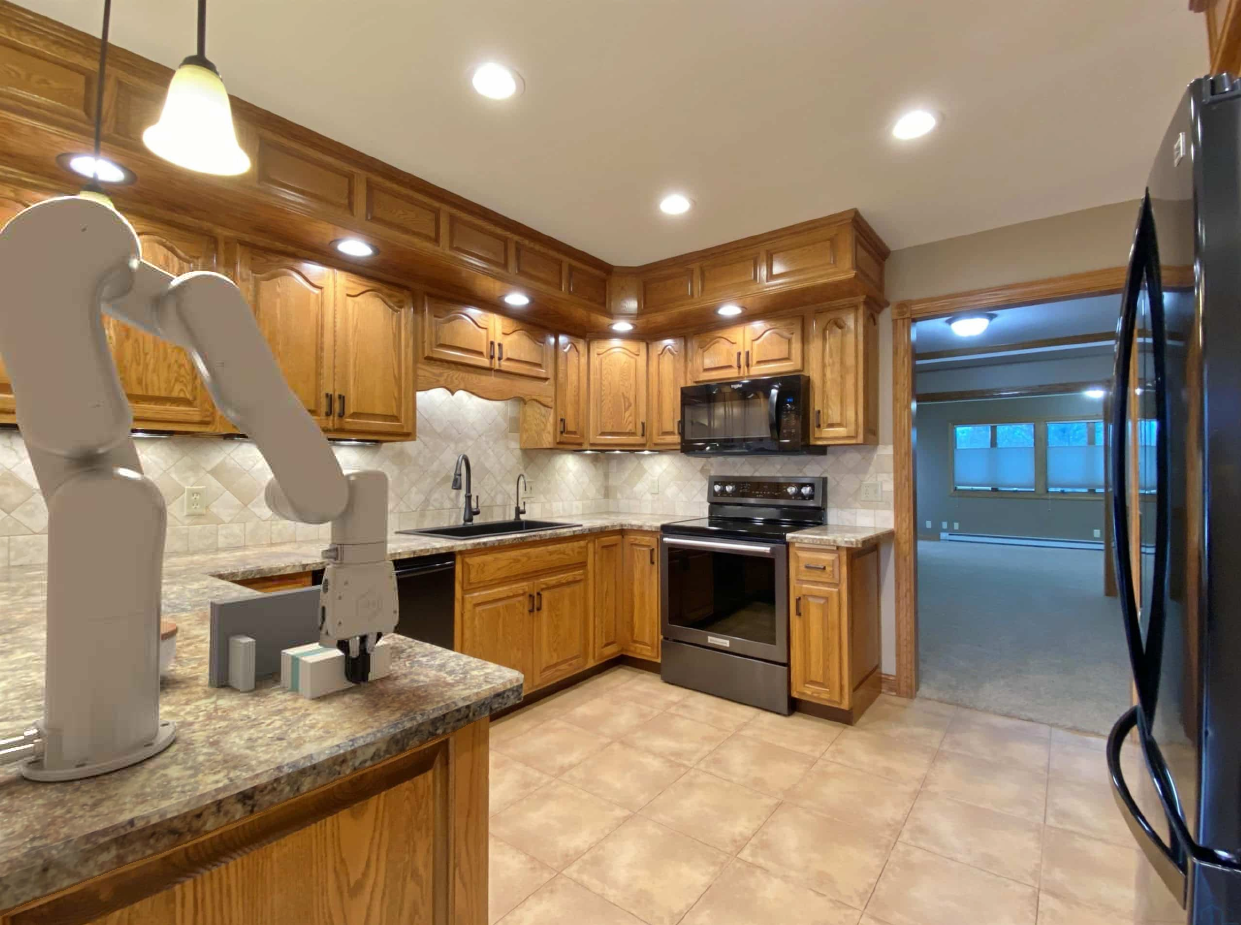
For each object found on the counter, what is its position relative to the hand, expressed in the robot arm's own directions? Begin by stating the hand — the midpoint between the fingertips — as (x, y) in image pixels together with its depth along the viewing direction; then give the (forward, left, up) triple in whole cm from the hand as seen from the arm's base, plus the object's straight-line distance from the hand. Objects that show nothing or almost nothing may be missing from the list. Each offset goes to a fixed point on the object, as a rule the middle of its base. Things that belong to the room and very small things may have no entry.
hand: (357, 680), depth 83 cm
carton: (0, +6, -1) cm, 6 cm away
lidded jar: (-19, +28, -1) cm, 34 cm away
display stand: (0, +15, -1) cm, 16 cm away
